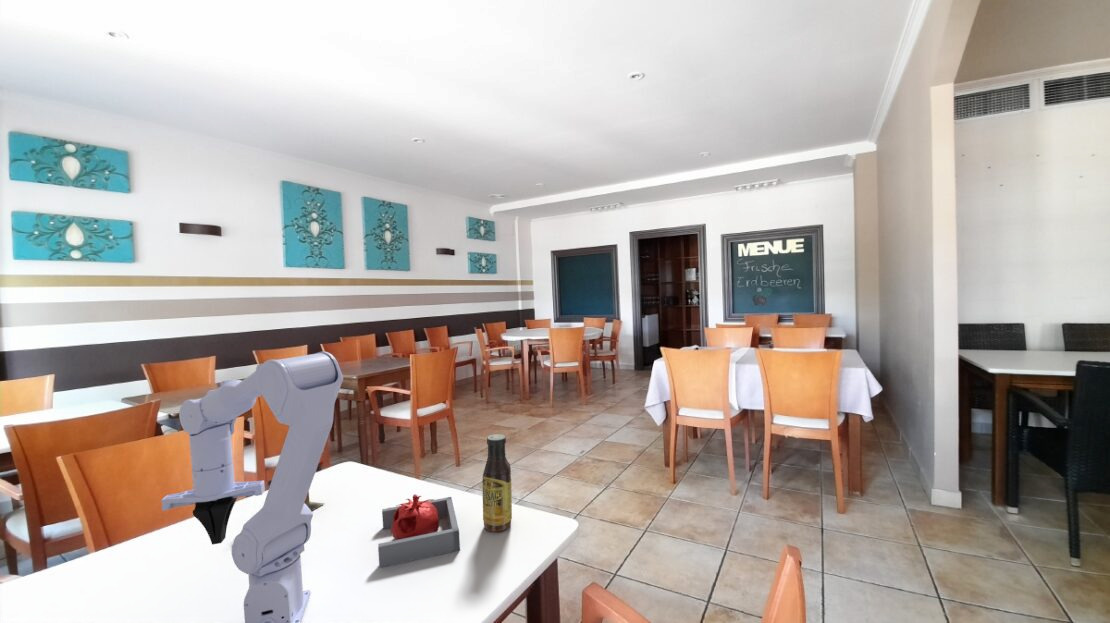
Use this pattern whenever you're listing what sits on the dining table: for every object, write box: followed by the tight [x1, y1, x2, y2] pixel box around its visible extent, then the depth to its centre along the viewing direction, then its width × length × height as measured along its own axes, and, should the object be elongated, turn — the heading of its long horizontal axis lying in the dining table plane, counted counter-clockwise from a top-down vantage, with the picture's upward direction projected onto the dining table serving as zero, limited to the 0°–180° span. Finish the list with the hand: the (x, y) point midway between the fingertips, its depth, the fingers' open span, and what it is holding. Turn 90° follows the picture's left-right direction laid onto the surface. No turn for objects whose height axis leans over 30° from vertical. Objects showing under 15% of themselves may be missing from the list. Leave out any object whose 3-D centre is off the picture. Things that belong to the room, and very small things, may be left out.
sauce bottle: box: [481, 433, 513, 533], centre depth 97 cm, size 7×6×20 cm
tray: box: [377, 496, 461, 569], centre depth 94 cm, size 16×15×4 cm
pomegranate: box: [390, 494, 440, 541], centre depth 94 cm, size 10×10×9 cm
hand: (218, 541), depth 78 cm, fingers closed
